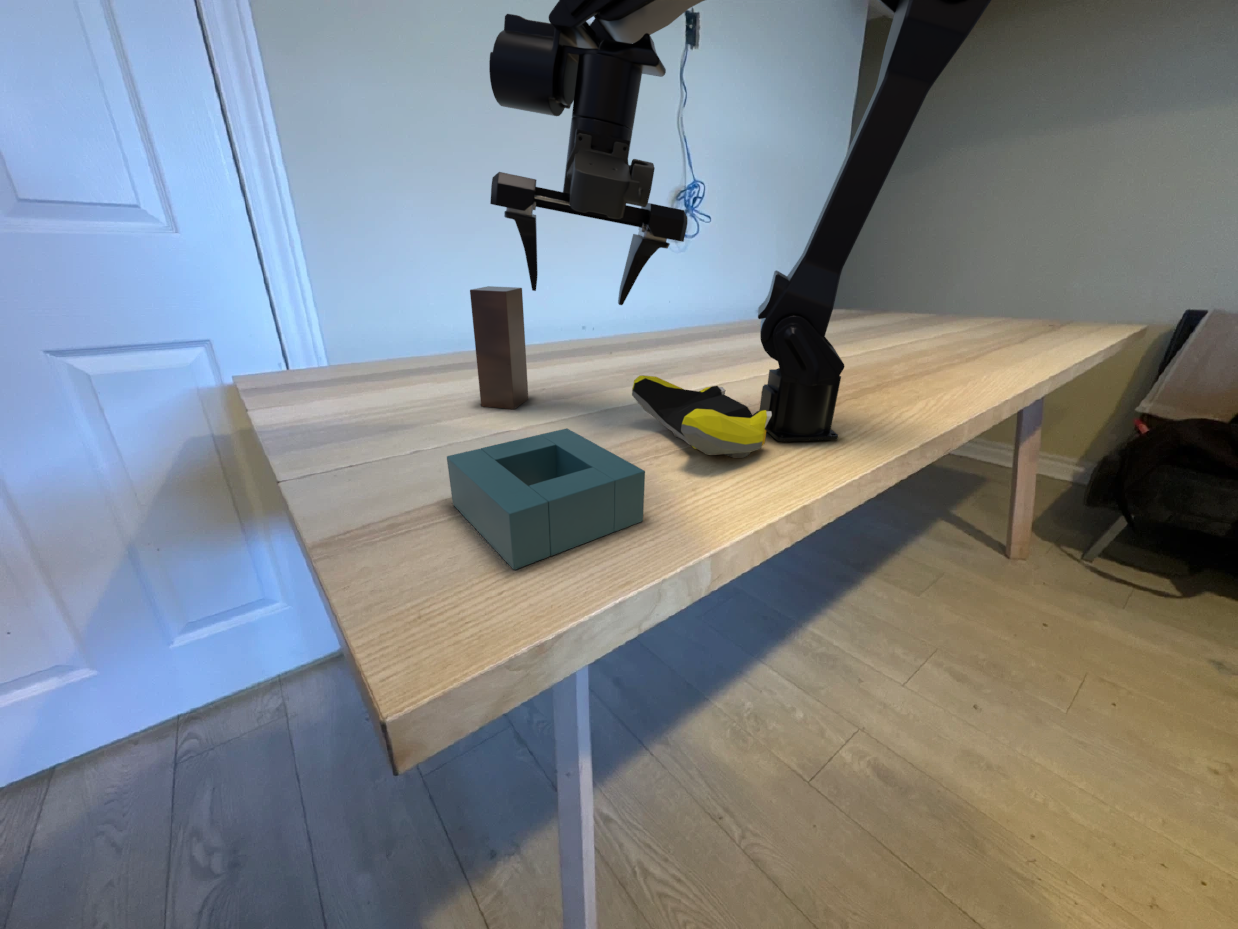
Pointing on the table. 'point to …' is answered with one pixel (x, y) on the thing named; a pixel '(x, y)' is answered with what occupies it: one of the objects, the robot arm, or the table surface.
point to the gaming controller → (703, 417)
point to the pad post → (500, 346)
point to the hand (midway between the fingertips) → (577, 297)
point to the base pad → (545, 494)
